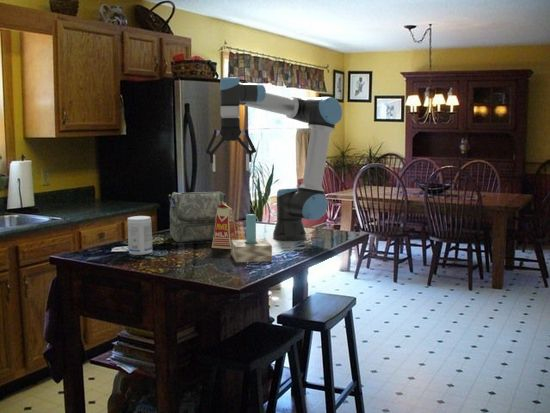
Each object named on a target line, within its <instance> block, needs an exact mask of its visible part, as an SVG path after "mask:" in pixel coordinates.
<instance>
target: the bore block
mask: <svg viewBox="0 0 550 413" xmlns="http://www.w3.org/2000/svg"><path fill="white" fill-rule="evenodd" d="M230 254H231V255H230V256H231V257H232V258H233V260H234V262H235V263H249V262H250V263H251V262H252V263H253V262H255V263H256V262H273V245H272V244H271V243H270V242H269V241H268V240H267V239H266V238H256V244H246V239H236V240H231V249H230Z"/></svg>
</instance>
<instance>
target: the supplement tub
mask: <svg viewBox="0 0 550 413" xmlns="http://www.w3.org/2000/svg"><path fill="white" fill-rule="evenodd" d="M152 229H153V228H152V217H151V216H148V215H135V216H134V215H133V216H130V217H127V239H128V240H127V243H128V244H127V245H128V252H129V254H130V255H134V256H143V255H149V254H151V253H152V252H153V231H152Z"/></svg>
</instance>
